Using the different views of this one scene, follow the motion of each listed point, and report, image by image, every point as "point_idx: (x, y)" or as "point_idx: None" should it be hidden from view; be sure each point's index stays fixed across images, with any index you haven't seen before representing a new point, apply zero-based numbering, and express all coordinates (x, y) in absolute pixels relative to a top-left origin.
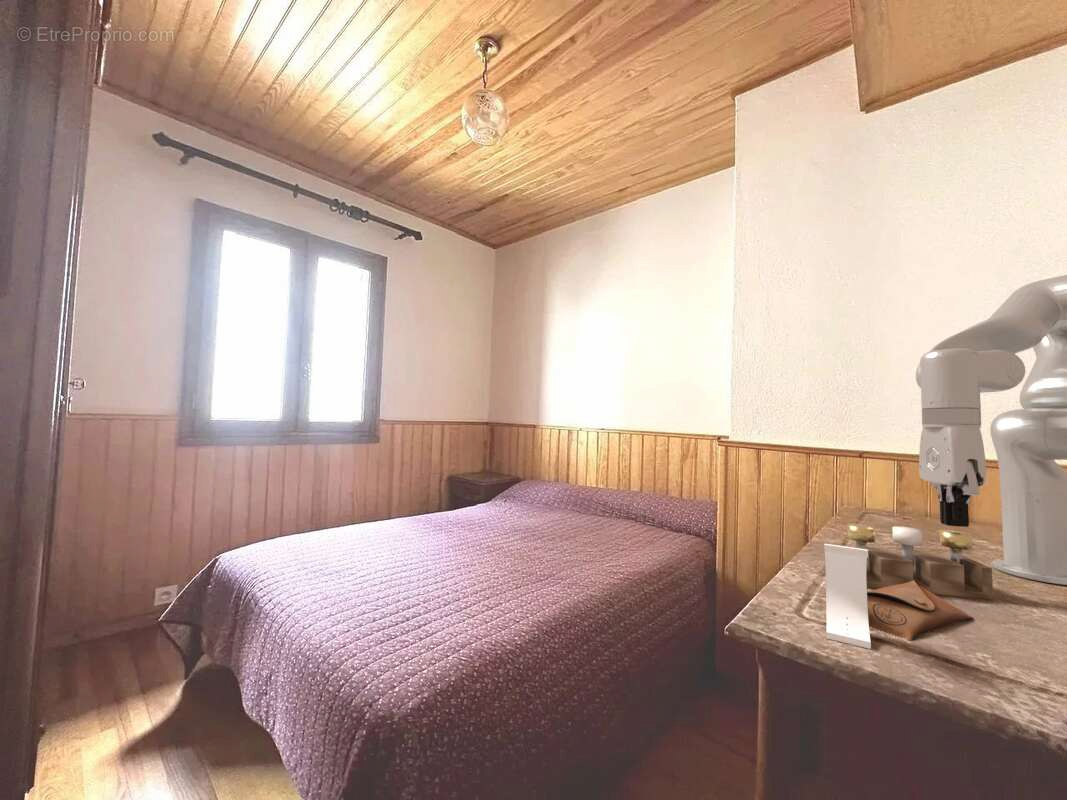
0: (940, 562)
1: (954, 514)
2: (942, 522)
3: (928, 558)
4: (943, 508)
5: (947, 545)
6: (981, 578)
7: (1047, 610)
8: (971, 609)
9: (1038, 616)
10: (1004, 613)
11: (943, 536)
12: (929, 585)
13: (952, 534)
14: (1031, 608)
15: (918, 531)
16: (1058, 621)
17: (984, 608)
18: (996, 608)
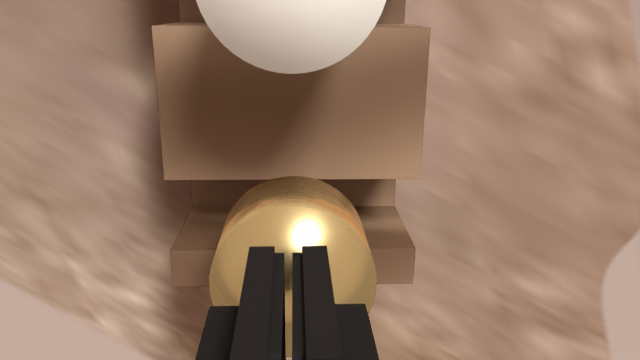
0: (189, 94)
1: (206, 336)
2: (304, 248)
3: (261, 73)
4: (292, 320)
5: (254, 188)
6: (187, 228)
7: (148, 334)
8: (37, 80)
9: (66, 270)
10: (45, 177)
11: (274, 198)
12: (187, 21)
13: (227, 236)
14: (149, 298)
15: (221, 23)
16: (40, 300)
17: (74, 138)
18: (94, 182)
